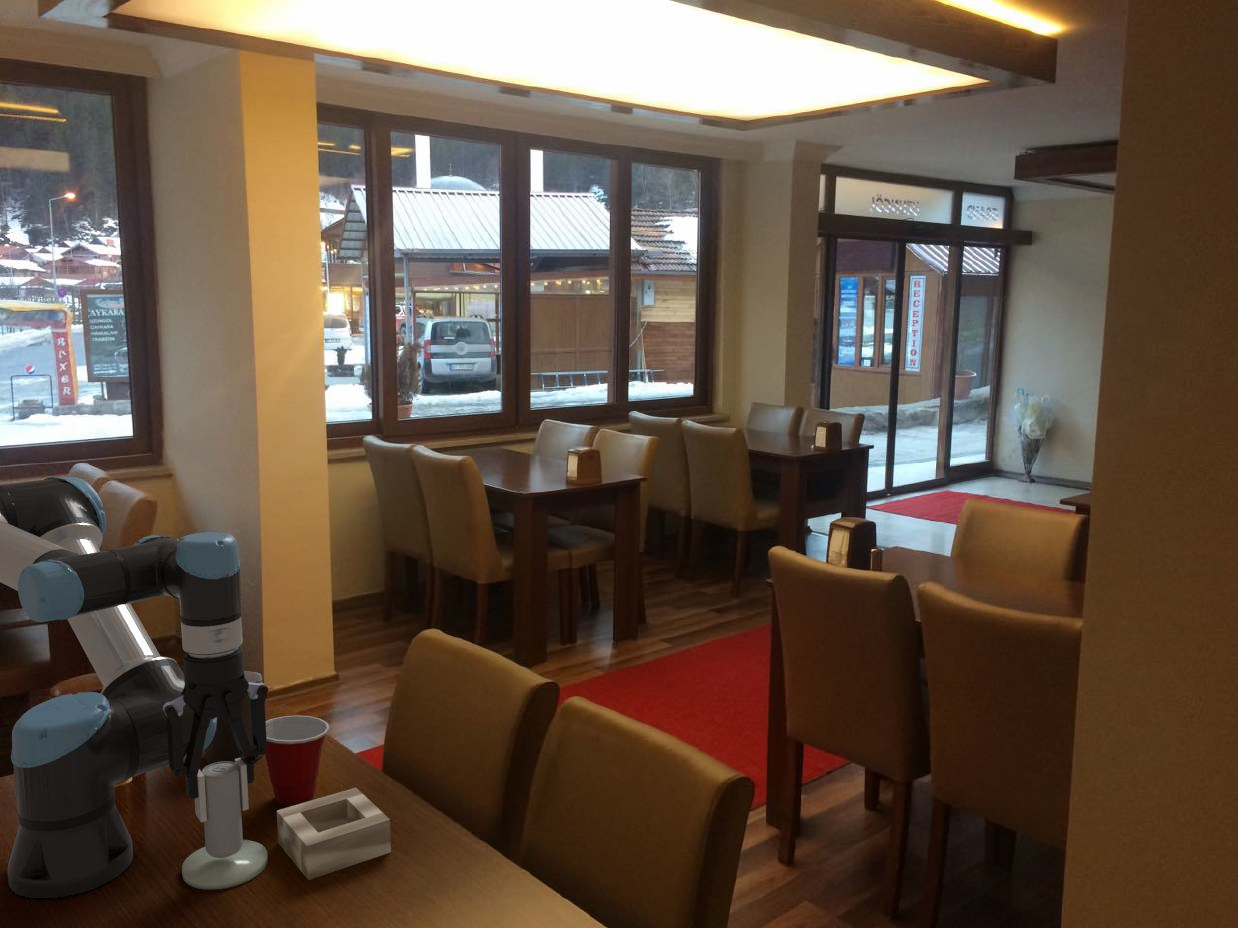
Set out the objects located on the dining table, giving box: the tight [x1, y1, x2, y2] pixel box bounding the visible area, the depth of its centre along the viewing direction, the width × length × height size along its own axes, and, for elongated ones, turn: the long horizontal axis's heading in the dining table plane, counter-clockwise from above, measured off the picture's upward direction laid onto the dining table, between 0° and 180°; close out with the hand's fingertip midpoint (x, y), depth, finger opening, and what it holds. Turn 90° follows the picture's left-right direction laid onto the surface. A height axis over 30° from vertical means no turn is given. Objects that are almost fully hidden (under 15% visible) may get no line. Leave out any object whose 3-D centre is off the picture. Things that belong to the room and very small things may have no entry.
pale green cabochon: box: [181, 839, 268, 890], centre depth 141 cm, size 11×11×1 cm
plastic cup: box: [264, 714, 330, 807], centre depth 160 cm, size 11×11×12 cm
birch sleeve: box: [276, 787, 392, 881], centre depth 146 cm, size 12×12×5 cm
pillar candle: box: [204, 670, 263, 765], centre depth 174 cm, size 10×10×15 cm
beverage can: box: [201, 761, 244, 858], centre depth 139 cm, size 5×5×12 cm
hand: (222, 811), depth 139 cm, fingers closed on beverage can, 5 cm apart
